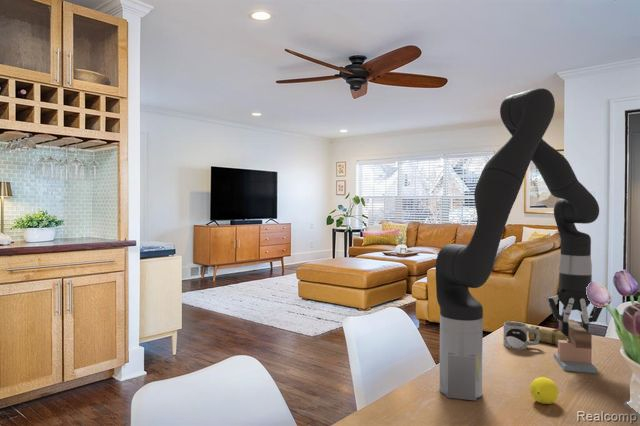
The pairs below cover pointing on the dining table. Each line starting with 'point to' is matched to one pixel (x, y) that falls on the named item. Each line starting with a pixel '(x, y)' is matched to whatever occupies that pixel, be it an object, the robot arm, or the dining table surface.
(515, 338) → the mug
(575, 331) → the walnut bar
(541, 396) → the lemon
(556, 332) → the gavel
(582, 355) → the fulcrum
